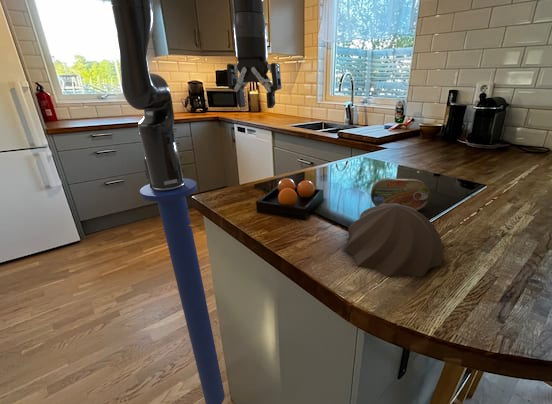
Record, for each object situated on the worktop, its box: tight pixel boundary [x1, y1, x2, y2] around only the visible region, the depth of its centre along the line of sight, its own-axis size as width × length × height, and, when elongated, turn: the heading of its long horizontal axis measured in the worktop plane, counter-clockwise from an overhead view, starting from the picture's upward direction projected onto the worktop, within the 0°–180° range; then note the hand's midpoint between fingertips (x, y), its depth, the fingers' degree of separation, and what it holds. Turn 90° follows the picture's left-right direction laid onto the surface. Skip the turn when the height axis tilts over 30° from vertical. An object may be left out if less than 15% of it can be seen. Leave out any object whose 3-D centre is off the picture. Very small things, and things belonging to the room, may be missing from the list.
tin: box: [370, 177, 431, 212], centre depth 79 cm, size 15×3×8 cm, turn 82°
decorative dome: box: [344, 203, 444, 278], centre depth 60 cm, size 19×20×10 cm
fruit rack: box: [255, 177, 324, 221], centre depth 82 cm, size 14×14×6 cm
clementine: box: [278, 188, 297, 206], centre depth 78 cm, size 5×5×5 cm
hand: (256, 107), depth 77 cm, fingers open, 8 cm apart
